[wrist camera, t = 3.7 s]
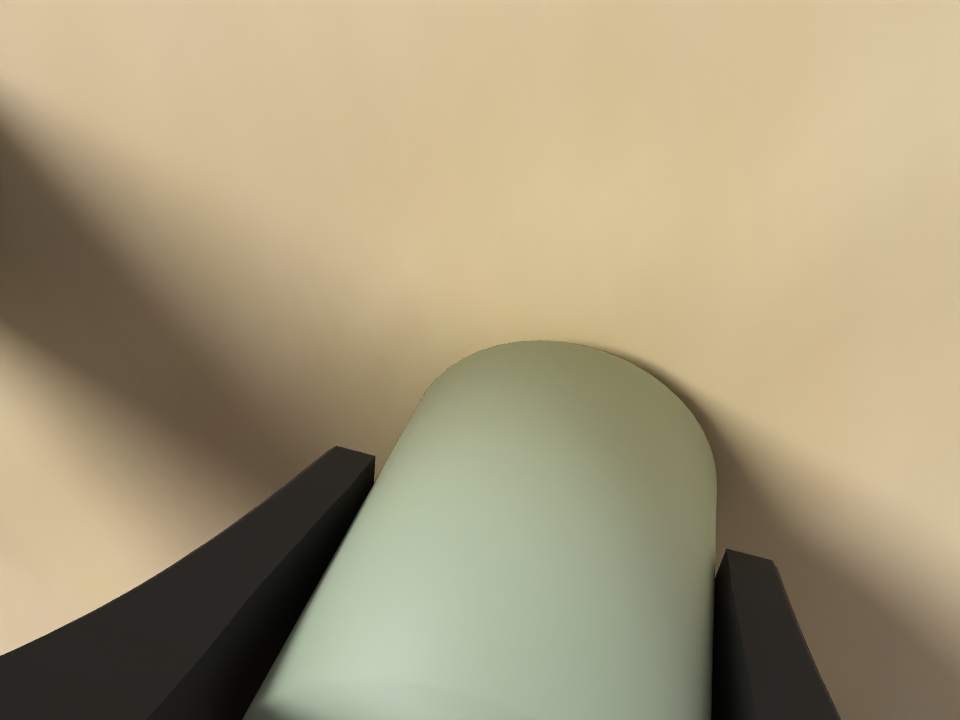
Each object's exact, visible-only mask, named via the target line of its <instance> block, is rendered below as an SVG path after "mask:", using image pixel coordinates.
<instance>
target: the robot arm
mask: <svg viewBox="0 0 960 720" xmlns="http://www.w3.org/2000/svg"><path fill="white" fill-rule="evenodd" d="M374 471H375V456H373V455H369V454H365V453H361V452H358V451H354V450H350V449H346V448H342V447H339V446H336V447H334V448H332V449H330V450H329V451H327V452H326V453H325V454H324V455H322V456H321V457H320V458H319V459H317V460H316V461H315V462H314V463H312V464H311V465H310V466H309V467H307V468H306V469H305V470H304V471H302V472H301V473H300V474H299V475H297V476H296V477H295V478H294V479H292V480H291V481H290V482H289V483H287V484H286V485H285V486H283V487H282V488H281V489H280V490H278V491H277V492H276V493H274V494H273V495H272V496H270V497H269V498H268V499H267V500H265V501H264V502H263V503H261V504H260V505H258V506H257V507H256V508H254V509H253V510H252V511H250V512H249V513H247V514H246V515H245V516H243V517H242V518H241V519H239V520H238V521H237V522H235V523H234V524H232V525H231V526H230V527H228V528H227V529H226V530H224V531H223V532H221V533H220V534H218V535H217V536H216V537H214V538H213V539H211V540H210V541H208V542H207V543H205V544H203V545H202V546H200V547H199V548H197V549H196V550H194V551H193V552H191V553H190V554H188V555H187V556H185V557H184V558H182V559H181V560H179V561H178V562H176V563H175V564H173V565H172V566H170V567H169V568H167V569H165V570H164V571H162V572H161V573H159V574H157V575H156V576H154V577H152V578H151V579H149V580H147V581H146V582H144V583H142V584H141V585H139V586H137V587H135V588H134V589H132V590H130V591H129V592H127V593H125V594H123V595H121V596H120V597H118V598H116V599H114V600H112V601H111V602H109V603H107V604H105V605H103V606H102V607H100V608H98V609H96V610H94V611H92V612H90V613H88V614H86V615H84V616H82V617H81V618H79V619H77V620H75V621H73V622H71V623H69V624H67V625H65V626H63V627H61V628H59V629H57V630H55V631H53V632H51V633H49V634H47V635H45V636H43V637H40V638H38V639H36V640H34V641H32V642H30V643H28V644H26V645H24V646H22V647H19V648H17V649H15V650H13V651H11V652H8V653H6V654H4V655H1V656H0V720H242V719H243V717H244V715H245V714H246V712H247V710H248V708H249V706H250V705H251V703H252V701H253V699H254V697H255V696H256V694H257V692H258V690H259V689H260V687H261V685H262V683H263V681H264V680H265V678H266V676H267V674H268V672H269V671H270V669H271V667H272V665H273V663H274V662H275V660H276V658H277V656H278V655H279V653H280V651H281V649H282V647H283V646H284V644H285V642H286V640H287V638H288V637H289V635H290V633H291V631H292V629H293V628H294V626H295V624H296V622H297V621H298V619H299V617H300V615H301V613H302V612H303V610H304V608H305V606H306V604H307V603H308V601H309V599H310V597H311V595H312V594H313V592H314V590H315V588H316V586H317V585H318V583H319V581H320V579H321V578H322V576H323V574H324V572H325V570H326V569H327V567H328V565H329V563H330V561H331V560H332V558H333V556H334V554H335V552H336V551H337V549H338V547H339V545H340V544H341V542H342V540H343V538H344V536H345V535H346V533H347V531H348V529H349V527H350V526H351V524H352V522H353V520H354V518H355V517H356V515H357V513H358V511H359V510H360V508H361V506H362V504H363V502H364V501H365V499H366V497H367V495H368V493H369V492H370V490H371V488H372V486H373V484H374ZM711 720H841V719H840V717H839V714H838V712H837V710H836V708H835V706H834V704H833V702H832V699H831V697H830V695H829V693H828V691H827V689H826V687H825V684H824V682H823V680H822V678H821V676H820V674H819V672H818V669H817V667H816V665H815V662H814V660H813V658H812V656H811V653H810V651H809V649H808V646H807V644H806V641H805V639H804V637H803V634H802V632H801V629H800V627H799V625H798V622H797V619H796V617H795V614H794V612H793V609H792V607H791V604H790V602H789V599H788V596H787V594H786V591H785V588H784V586H783V583H782V580H781V577H780V575H779V572H778V569H777V567H776V566H775V564H774V563H773V561H772V560H768V559H764V558H760V557H757V556H753V555H749V554H745V553H741V552H738V551H734V550H730V549H726V552H725V554H724V557H723V559H722V562H721V564H720V567H719V569H718V572H717V575H716V577H715V589H714V630H713V670H712V711H711Z"/></svg>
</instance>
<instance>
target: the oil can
mask: <svg viewBox="0 0 960 720" xmlns="http://www.w3.org/2000/svg"><path fill="white" fill-rule="evenodd" d="M716 508H717V476H716V465H715V462H714V458H713V454H712V450H711V447H710V445H709V443H708V440H707V438H706V436H705V433H704V431H703V430H702V428H701V426H700V425H699V423H698V422H697V420H696V418H695V417H694V415H693V414H692V413H691V411H690V410H689V409H688V408H687V407H686V405H685V404H684V403H683V402H682V401H681V399H679V398H678V397H677V396H676V395H675V394H674V393H673V392H672V391H671V390H670V389H669V388H668V387H667V386H665V385H664V384H663V383H662V382H660V381H659V380H657V379H656V378H655V377H653V376H652V375H650V374H649V373H648V372H646V371H644V370H643V369H641V368H639V367H637V366H635V365H634V364H632V363H630V362H628V361H626V360H624V359H621V358H619V357H617V356H614V355H612V354H609V353H607V352H604V351H601V350H597V349H594V348H590V347H587V346H583V345H577V344H571V343H566V342H557V341H522V342H514V343H508V344H503V345H497V346H494V347H491V348H488V349H485V350H482V351H479V352H476V353H474V354H472V355H470V356H468V357H466V358H464V359H462V360H460V361H459V362H457V363H456V364H454V365H453V366H451V367H450V368H448V369H447V370H446V371H445V372H443V373H442V374H441V375H440V376H439V377H438V378H437V379H436V380H435V381H434V382H433V383H432V384H431V386H430V387H429V388H428V389H427V391H426V392H425V393H424V395H423V397H422V399H421V400H420V402H419V404H418V406H417V407H416V409H415V411H414V413H413V415H412V416H411V418H410V420H409V422H408V424H407V425H406V427H405V429H404V431H403V433H402V434H401V436H400V438H399V440H398V441H397V443H396V445H395V447H394V449H393V450H392V452H391V454H390V456H389V458H388V459H387V461H386V463H385V465H384V467H383V468H382V470H381V472H380V474H379V476H378V477H377V479H376V481H375V483H374V484H373V486H372V488H371V490H370V492H369V493H368V495H367V497H366V499H365V501H364V502H363V504H362V506H361V508H360V510H359V511H358V513H357V515H356V517H355V518H354V520H353V522H352V524H351V526H350V527H349V529H348V531H347V533H346V535H345V536H344V538H343V540H342V542H341V544H340V545H339V547H338V549H337V551H336V552H335V554H334V556H333V558H332V560H331V561H330V563H329V565H328V567H327V569H326V570H325V572H324V574H323V576H322V578H321V579H320V581H319V583H318V585H317V586H316V588H315V590H314V592H313V594H312V595H311V597H310V599H309V601H308V603H307V604H306V606H305V608H304V610H303V612H302V613H301V615H300V617H299V619H298V621H297V622H296V624H295V626H294V628H293V629H292V631H291V633H290V635H289V637H288V638H287V640H286V642H285V644H284V646H283V647H282V649H281V651H280V653H279V655H278V656H277V658H276V660H275V662H274V663H273V665H272V667H271V669H270V671H269V672H268V674H267V676H266V678H265V680H264V681H263V683H262V685H261V687H260V689H259V690H258V692H257V694H256V696H255V697H254V699H253V701H252V703H251V705H250V706H249V708H248V710H247V712H246V714H245V715H244V717H243V719H242V720H711V711H712V670H713V630H714V589H715V549H716Z"/></svg>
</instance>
